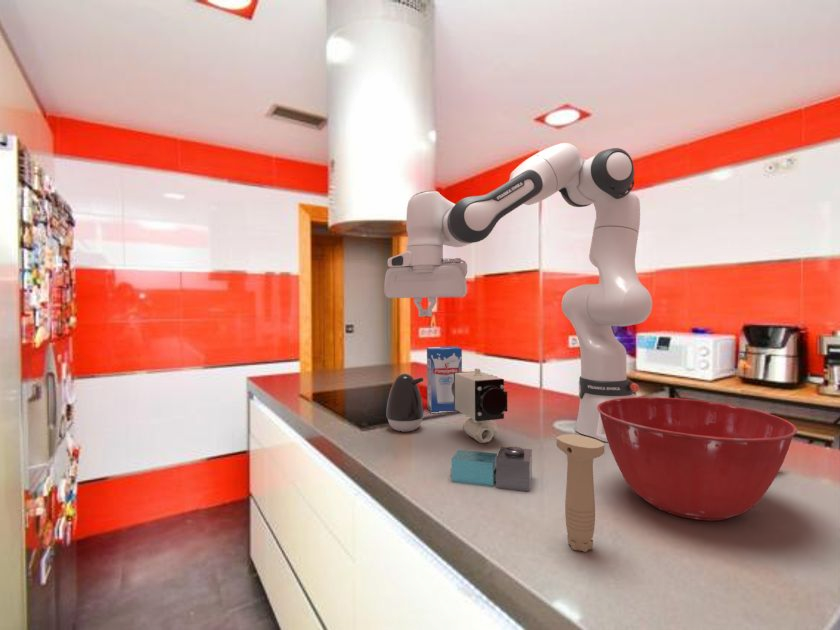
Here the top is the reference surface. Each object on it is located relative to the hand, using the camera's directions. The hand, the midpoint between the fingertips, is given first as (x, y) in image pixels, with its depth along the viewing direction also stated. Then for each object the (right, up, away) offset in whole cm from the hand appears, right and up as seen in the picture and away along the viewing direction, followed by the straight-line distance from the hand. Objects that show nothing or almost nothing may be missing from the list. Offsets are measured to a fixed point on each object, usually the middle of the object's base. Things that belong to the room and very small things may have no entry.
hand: (425, 316), depth 108 cm
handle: (+21, -32, -46) cm, 60 cm away
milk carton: (+6, -30, +34) cm, 46 cm away
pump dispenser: (-5, -31, +13) cm, 34 cm away
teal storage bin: (+9, -32, -21) cm, 39 cm away
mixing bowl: (+44, -32, -32) cm, 63 cm away
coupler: (+12, -32, -22) cm, 40 cm away
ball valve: (+14, -31, +4) cm, 34 cm away
